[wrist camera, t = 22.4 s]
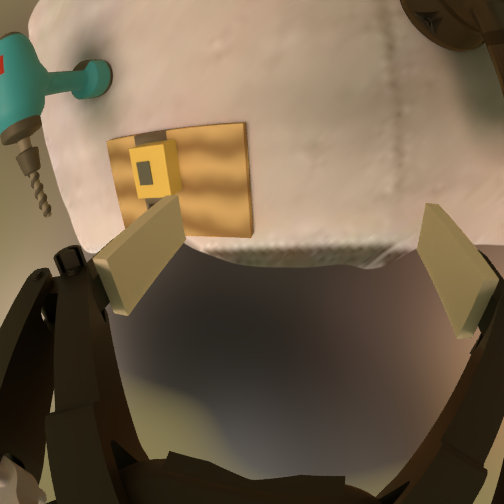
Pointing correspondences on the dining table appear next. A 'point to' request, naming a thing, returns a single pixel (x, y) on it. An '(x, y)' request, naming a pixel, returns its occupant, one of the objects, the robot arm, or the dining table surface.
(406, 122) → the dining table surface
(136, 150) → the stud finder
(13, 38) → the power drill
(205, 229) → the subfloor panel
